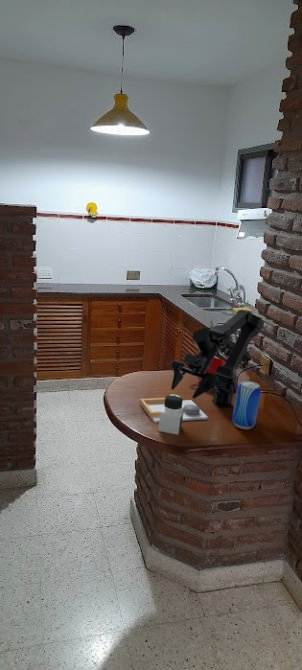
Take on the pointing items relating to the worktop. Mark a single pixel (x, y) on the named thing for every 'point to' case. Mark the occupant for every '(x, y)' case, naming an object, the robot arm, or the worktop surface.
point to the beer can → (246, 405)
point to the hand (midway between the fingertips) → (182, 393)
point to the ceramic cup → (214, 366)
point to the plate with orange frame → (156, 405)
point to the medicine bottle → (171, 415)
